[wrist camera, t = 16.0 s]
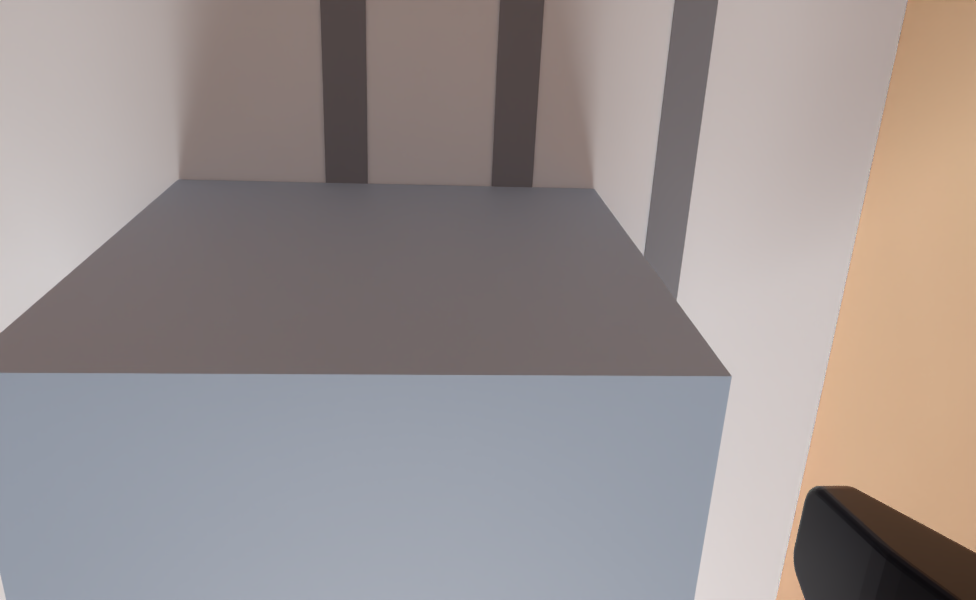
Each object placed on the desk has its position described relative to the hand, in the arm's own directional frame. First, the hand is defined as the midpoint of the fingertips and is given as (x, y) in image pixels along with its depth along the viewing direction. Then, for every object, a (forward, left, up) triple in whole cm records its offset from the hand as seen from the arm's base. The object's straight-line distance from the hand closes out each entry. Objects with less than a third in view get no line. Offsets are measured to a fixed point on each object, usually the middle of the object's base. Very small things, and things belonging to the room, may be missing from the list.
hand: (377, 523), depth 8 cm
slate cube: (0, 0, -3) cm, 3 cm away
